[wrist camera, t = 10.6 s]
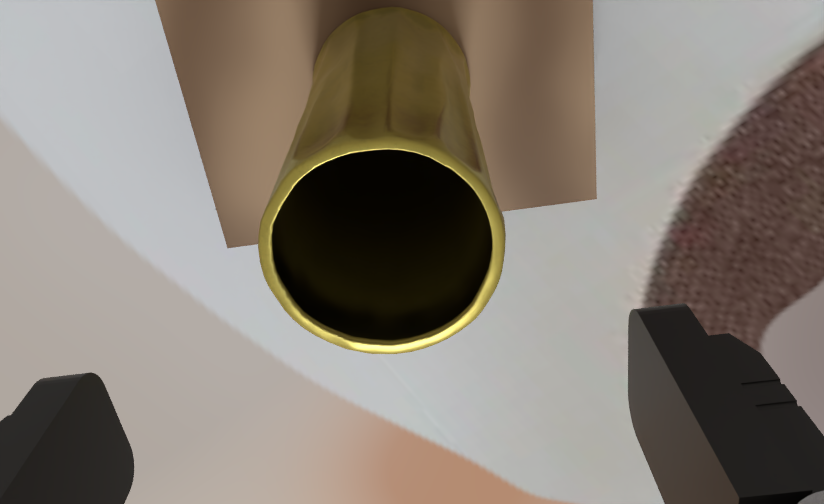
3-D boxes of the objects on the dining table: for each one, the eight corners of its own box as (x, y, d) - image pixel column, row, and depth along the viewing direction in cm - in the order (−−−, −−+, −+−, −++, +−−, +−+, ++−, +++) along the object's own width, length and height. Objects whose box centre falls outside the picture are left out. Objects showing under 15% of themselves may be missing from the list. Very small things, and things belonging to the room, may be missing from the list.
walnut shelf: (560, -117, 29) (590, -119, 24) (570, 158, 34) (596, 198, 30) (179, -58, 29) (141, -49, 25) (249, 202, 35) (227, 248, 30)
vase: (284, 49, 27) (177, 190, 14) (431, -24, 26) (461, 58, 13) (357, 184, 29) (322, 408, 17) (493, 124, 28) (569, 314, 15)
